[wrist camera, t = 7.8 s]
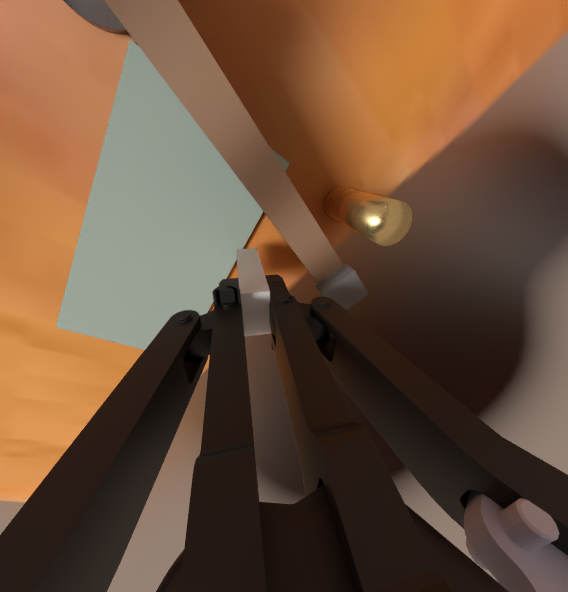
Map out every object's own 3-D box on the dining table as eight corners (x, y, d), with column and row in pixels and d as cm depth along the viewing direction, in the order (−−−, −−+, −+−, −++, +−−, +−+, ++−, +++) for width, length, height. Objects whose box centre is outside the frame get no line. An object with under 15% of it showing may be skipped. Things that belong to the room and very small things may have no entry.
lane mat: (132, 42, 12) (129, 39, 11) (289, 163, 16) (290, 163, 16) (58, 324, 19) (55, 327, 18) (182, 357, 23) (181, 359, 23)
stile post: (337, 180, 17) (393, 191, 11) (359, 198, 18) (420, 216, 12) (319, 208, 18) (362, 232, 12) (340, 224, 19) (390, 253, 13)
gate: (118, 23, 11) (-16, -142, 5) (150, -15, 10) (47, -242, 5) (305, 268, 19) (337, 315, 14) (326, 252, 19) (368, 294, 13)
